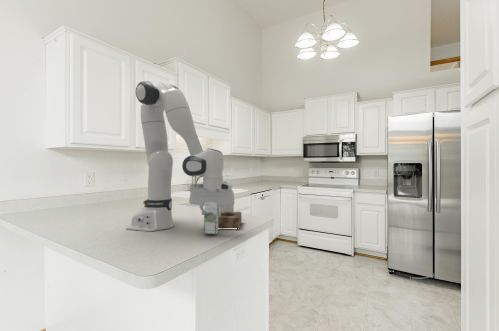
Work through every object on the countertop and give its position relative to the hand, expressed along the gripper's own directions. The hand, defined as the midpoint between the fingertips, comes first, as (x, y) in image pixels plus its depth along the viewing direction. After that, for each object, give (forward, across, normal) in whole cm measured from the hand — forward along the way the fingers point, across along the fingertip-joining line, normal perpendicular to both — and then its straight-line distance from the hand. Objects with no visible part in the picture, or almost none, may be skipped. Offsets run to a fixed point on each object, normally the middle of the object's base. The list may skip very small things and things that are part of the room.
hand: (211, 215), depth 108 cm
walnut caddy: (+9, +5, +16) cm, 19 cm away
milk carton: (+9, +2, +29) cm, 31 cm away
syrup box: (+8, 0, 0) cm, 8 cm away
